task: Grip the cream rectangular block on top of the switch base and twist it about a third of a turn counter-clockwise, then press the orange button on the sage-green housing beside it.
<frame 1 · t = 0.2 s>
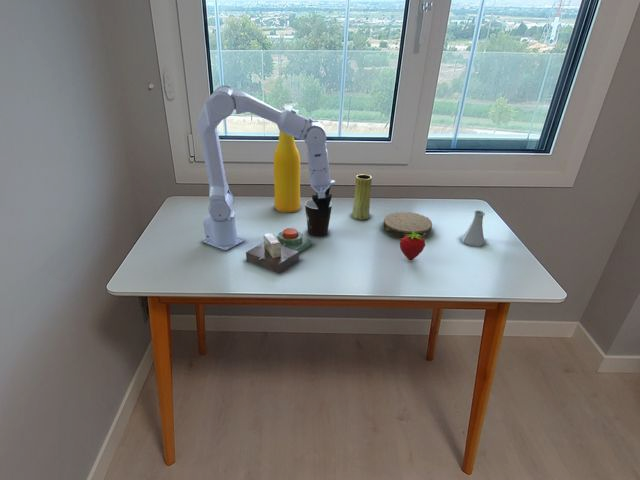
hand: (324, 212, 135), 10 cm above the table, tool pointing down, fingers open, 7 cm apart
switch base: (272, 260, 131), on the table
start button: (290, 233, 137), point 4 cm above the table, slide at 0.1 cm
beer bottle: (287, 208, 164), on the table
cork coaster disc: (406, 230, 151), on the table
flask: (472, 241, 145), on the table
button box: (290, 245, 139), on the table
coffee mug: (318, 231, 149), on the table
strawberry: (409, 260, 134), on the table
vase: (360, 216, 159), on the table
cream rectangular block: (272, 245, 128), point 5 cm above the table, hinge at -30.0°
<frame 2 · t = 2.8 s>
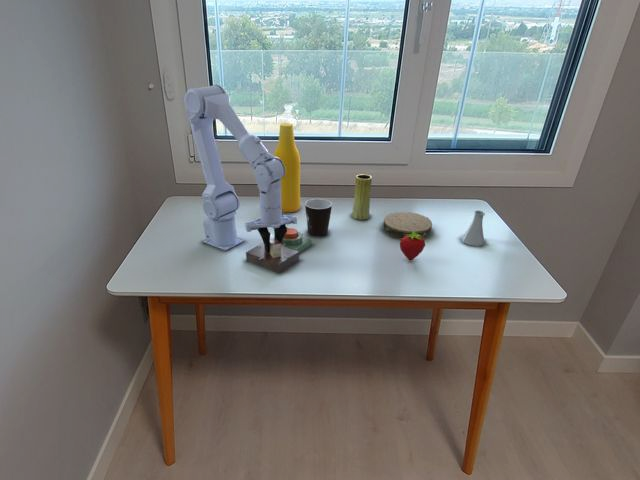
hand: (272, 249, 129), 4 cm above the table, tool pointing down, fingers closed on cream rectangular block, 2 cm apart
cream rectangular block: (272, 245, 128), point 5 cm above the table, hinge at -30.1°, touching gripper
everything else where it was.
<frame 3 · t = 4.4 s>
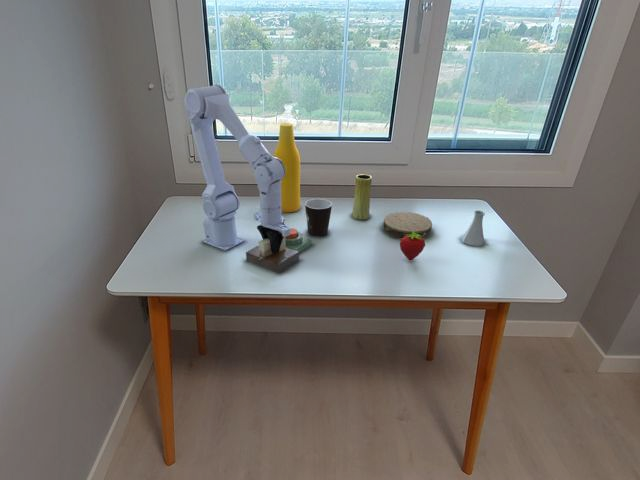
hand: (272, 250, 129), 3 cm above the table, tool pointing down, fingers closed on cream rectangular block, 2 cm apart
cream rectangular block: (272, 245, 128), point 5 cm above the table, hinge at 75.0°, touching gripper
everything else where it was.
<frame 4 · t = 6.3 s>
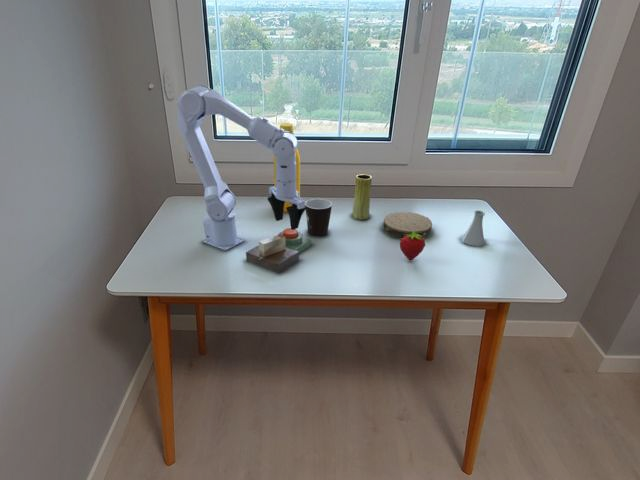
hand: (286, 224, 133), 8 cm above the table, tool pointing down, fingers open, 7 cm apart
cream rectangular block: (272, 245, 128), point 5 cm above the table, hinge at 75.0°
everything else where it was.
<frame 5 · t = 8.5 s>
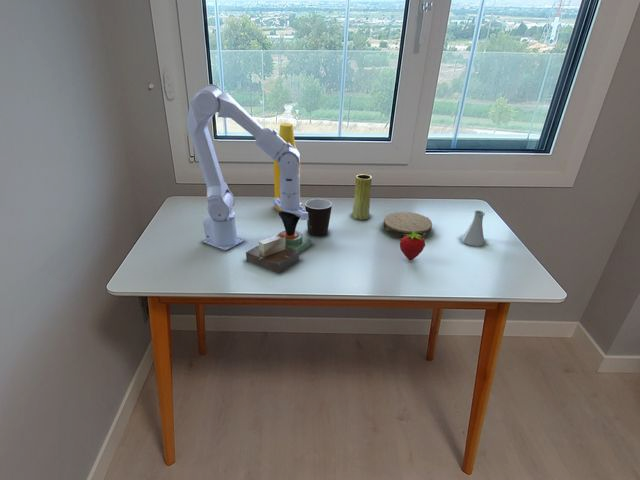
hand: (290, 234, 137), 4 cm above the table, tool pointing down, fingers closed, pressing on start button
start button: (290, 236, 138), point 3 cm above the table, slide at -0.9 cm, touching gripper
everything else where it was.
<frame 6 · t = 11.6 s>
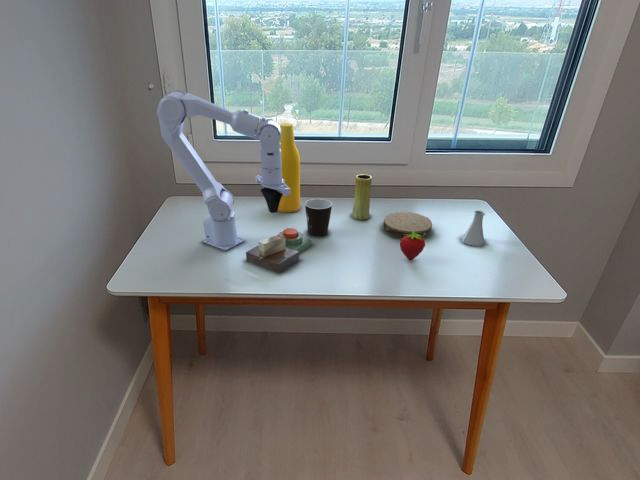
hand: (273, 211, 134), 10 cm above the table, tool pointing down, fingers closed
start button: (290, 233, 137), point 4 cm above the table, slide at 0.1 cm
everything else where it was.
at the end: cream rectangular block at +75° (first picture: -30°); start button pushed in 1.1 cm at the most during the clip, back to where it started at the end; start button slide at 0.1 cm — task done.
